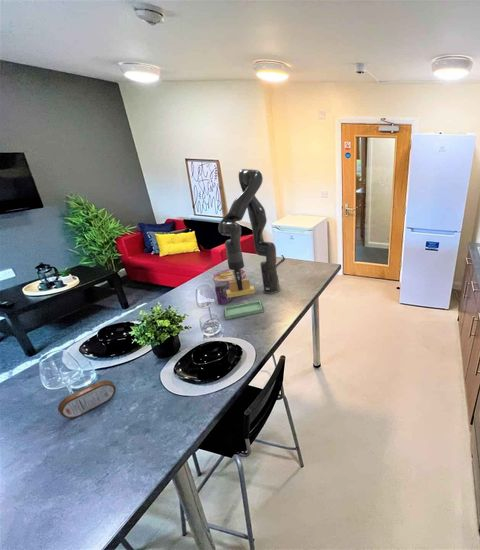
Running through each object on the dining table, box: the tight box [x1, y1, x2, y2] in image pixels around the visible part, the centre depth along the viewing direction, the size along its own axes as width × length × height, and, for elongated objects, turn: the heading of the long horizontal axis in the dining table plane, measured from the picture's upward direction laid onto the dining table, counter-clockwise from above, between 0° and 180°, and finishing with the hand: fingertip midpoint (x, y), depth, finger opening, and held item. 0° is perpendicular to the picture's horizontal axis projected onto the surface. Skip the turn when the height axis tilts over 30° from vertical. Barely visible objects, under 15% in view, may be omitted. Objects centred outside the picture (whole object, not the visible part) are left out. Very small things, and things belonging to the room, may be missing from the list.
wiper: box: [226, 277, 256, 299], centre depth 158 cm, size 5×14×8 cm, turn 117°
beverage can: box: [214, 282, 231, 305], centre depth 171 cm, size 7×7×12 cm
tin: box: [57, 379, 117, 419], centre depth 102 cm, size 15×3×8 cm, turn 145°
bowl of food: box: [211, 268, 247, 289], centre depth 185 cm, size 20×20×12 cm
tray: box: [224, 300, 264, 320], centre depth 164 cm, size 10×19×2 cm, turn 116°
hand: (240, 288), depth 158 cm, fingers closed on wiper, 2 cm apart
